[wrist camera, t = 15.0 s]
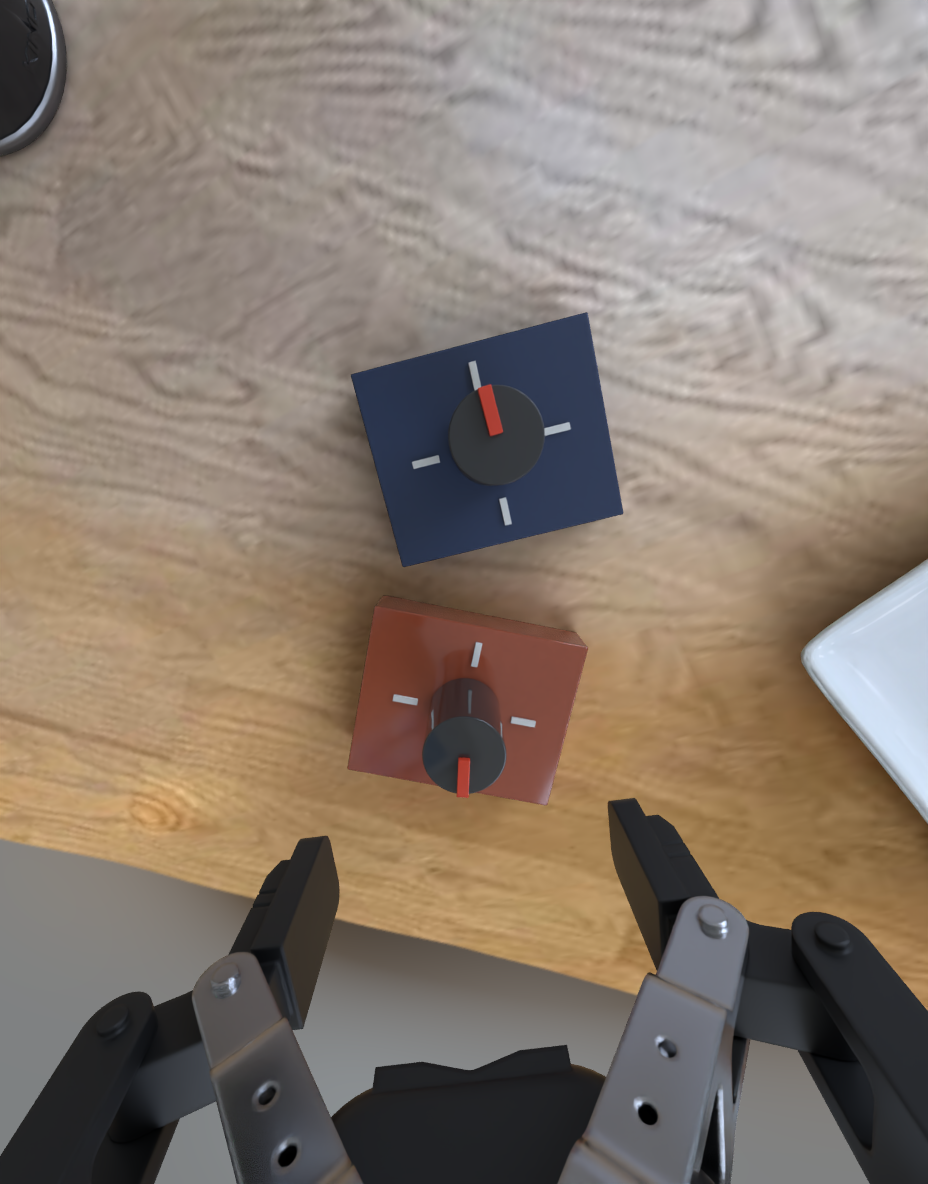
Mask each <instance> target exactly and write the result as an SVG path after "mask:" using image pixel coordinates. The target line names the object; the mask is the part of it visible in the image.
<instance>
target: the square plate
mask: <svg viewBox="0 0 928 1184" xmlns="http://www.w3.org/2000/svg"><path fill="white" fill-rule="evenodd" d="M801 661H802V664H803V666H804V667H805V669H806V671H807V672H808V674H809V676H810V677H811V679H812V680H813V681H814V683H815V684H816V685H817V686H818V688H819V689H820V690H821V692H822V693H823V694H824V696H825V697H826V698H827V700H828V701H829V702H830V704H831V705H832V706H833V707H834V708H835V710H836V711H837V712H838V713H839V714H840V715H841V717H842V718H843V719H844V720H845V721H846V723H847V724H848V725H849V726H850V727H851V729H852V730H853V731H854V732H855V734H856V735H857V736H858V737H859V739H860V740H861V741H862V742H863V743H864V745H865V746H866V747H867V748H868V749H869V751H870V752H871V753H872V754H873V755H874V757H875V758H876V759H877V760H878V761H879V763H880V764H881V765H882V766H883V768H884V769H885V770H886V771H887V773H888V774H889V775H890V776H891V778H892V779H893V780H894V781H895V783H896V784H897V785H898V786H899V788H900V789H901V790H902V791H903V792H904V794H905V795H906V796H907V798H908V799H909V800H910V801H911V803H912V804H913V805H914V807H915V808H916V809H917V810H918V812H919V813H920V814H921V816H922V817H923V819H924V820H925V821H926V823H927V824H928V559H927V560H925V561H924V562H922V563H921V564H919V565H918V566H917V567H915V568H914V569H912V570H911V571H909V572H908V573H906V574H905V575H903V576H902V577H900V578H899V579H897V580H896V581H894V582H893V583H891V584H890V585H888V586H887V587H885V588H884V589H882V590H881V591H879V592H878V593H876V594H875V595H873V596H871V597H870V598H868V599H867V600H865V601H864V602H862V603H861V604H859V605H858V606H856V607H855V608H854V609H852V610H851V611H849V612H848V613H846V614H845V615H844V616H842V617H841V618H839V619H838V620H836V621H835V622H834V623H832V624H831V625H829V626H828V627H826V628H825V629H824V630H823V631H821V632H820V633H819V634H818V635H817V636H815V637H814V638H813V639H812V640H811V641H809V642H808V643H807V644H806V646H805V647H804V648H803V650H802V652H801Z"/></svg>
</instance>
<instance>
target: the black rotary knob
mask: <svg viewBox="0 0 928 1184" xmlns="http://www.w3.org/2000/svg"><path fill="white" fill-rule="evenodd" d="M544 439H545V430H544V423H543V420H542V416H541V414H540V412H539V410H538V408H537V407H536V405H535V404H534V402H533V401H532V400H531V399H530V398H529V397H528V396H527V395H525V394H524V393H523V392H521V391H519V390H517V389H515V388H512V387H509V386H505V385H491V384H490V385H486V386H483V387H480V388H478V389H477V390H475V391H473V392H471V393H470V394H469V395H467V396H466V397H465V398H464V399H463V400H462V401H461V402H460V403H459V405H458V406H457V408H456V409H455V411H454V413H453V415H452V417H451V421H450V424H449V430H448V441H449V447H450V451H451V454H452V457H453V459H454V461H455V463H456V465H457V467H458V469H459V470H460V471H461V473H462V474H463V475H464V476H465V477H467V478H468V479H469V480H471V481H473V482H475V483H477V484H480V485H485V486H496V485H505V484H509V483H512V482H515V481H516V480H518V479H520V478H522V477H523V476H525V475H526V474H527V473H528V472H529V471H530V470H531V469H532V468H533V467H534V466H535V464H536V463H537V461H538V459H539V457H540V455H541V452H542V449H543V445H544Z"/></svg>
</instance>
